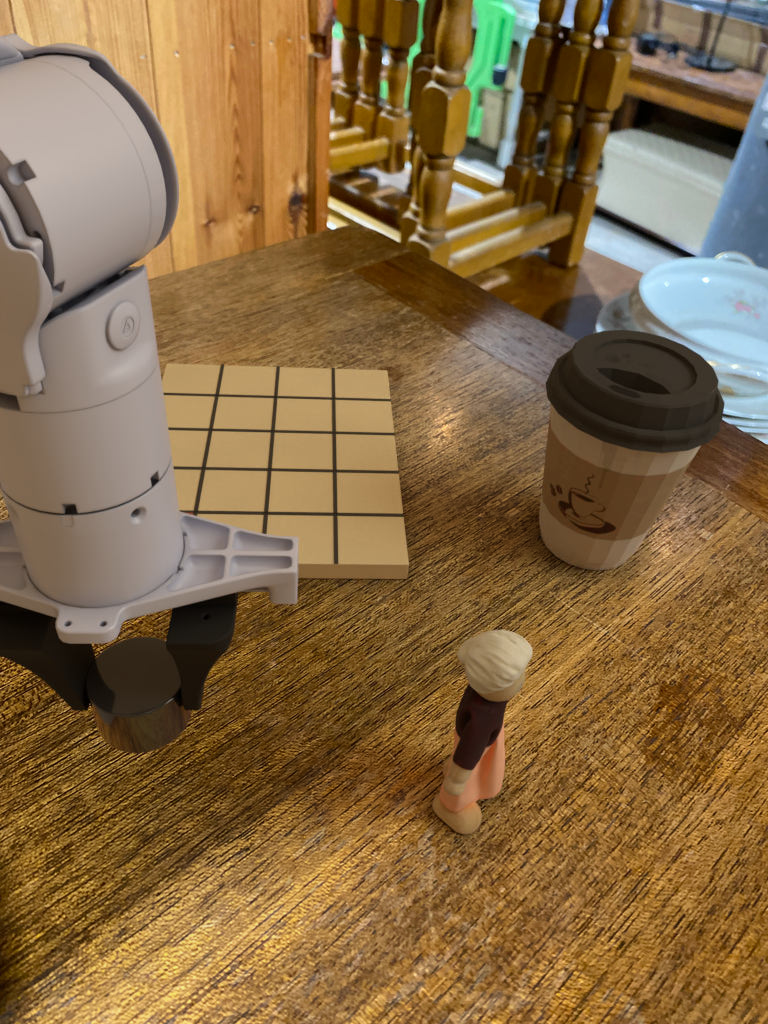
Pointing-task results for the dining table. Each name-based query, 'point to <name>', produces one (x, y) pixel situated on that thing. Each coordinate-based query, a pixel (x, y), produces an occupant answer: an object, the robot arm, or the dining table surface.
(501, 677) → the grandmother figurine
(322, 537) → the board
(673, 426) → the coffee cup
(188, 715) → the dark grey cylinder
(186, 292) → the dining table surface
